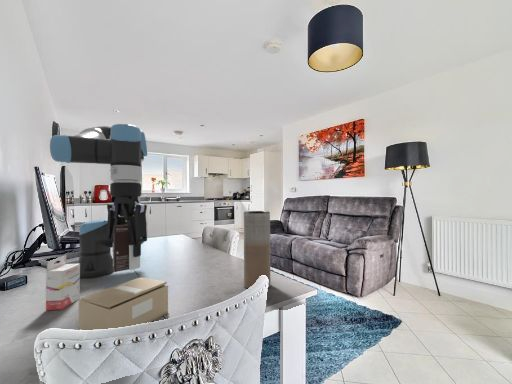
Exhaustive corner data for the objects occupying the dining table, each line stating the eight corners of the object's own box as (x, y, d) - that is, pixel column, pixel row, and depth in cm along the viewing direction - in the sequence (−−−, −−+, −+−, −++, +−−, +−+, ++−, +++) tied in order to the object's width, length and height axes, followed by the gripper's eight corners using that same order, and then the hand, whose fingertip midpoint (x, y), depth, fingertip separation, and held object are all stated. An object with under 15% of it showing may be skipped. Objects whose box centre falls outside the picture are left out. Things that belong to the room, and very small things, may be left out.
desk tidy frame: (38, 264, 123) (38, 259, 123) (82, 255, 141) (82, 251, 141) (59, 269, 114) (59, 264, 114) (103, 259, 132) (103, 254, 132)
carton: (78, 331, 62) (78, 299, 62) (138, 304, 77) (138, 278, 77) (110, 345, 56) (110, 310, 56) (168, 313, 71) (168, 285, 71)
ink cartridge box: (62, 310, 74) (62, 260, 74) (45, 310, 73) (45, 261, 73) (80, 298, 82) (80, 254, 82) (65, 298, 82) (65, 254, 82)
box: (114, 273, 63) (114, 226, 63) (113, 269, 67) (112, 224, 67) (140, 268, 66) (139, 224, 67) (137, 265, 70) (136, 223, 70)
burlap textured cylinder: (239, 288, 89) (239, 212, 89) (250, 279, 98) (249, 210, 99) (265, 292, 85) (264, 213, 86) (273, 282, 95) (273, 211, 95)
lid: (81, 300, 61) (81, 297, 62) (140, 279, 77) (140, 276, 77) (108, 307, 56) (108, 304, 56) (166, 283, 71) (166, 281, 71)
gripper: (91, 182, 68) (91, 266, 68) (137, 180, 59) (137, 276, 59) (117, 183, 75) (117, 259, 74) (162, 181, 66) (162, 267, 65)
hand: (126, 266), depth 67 cm, fingers closed on box, 6 cm apart
